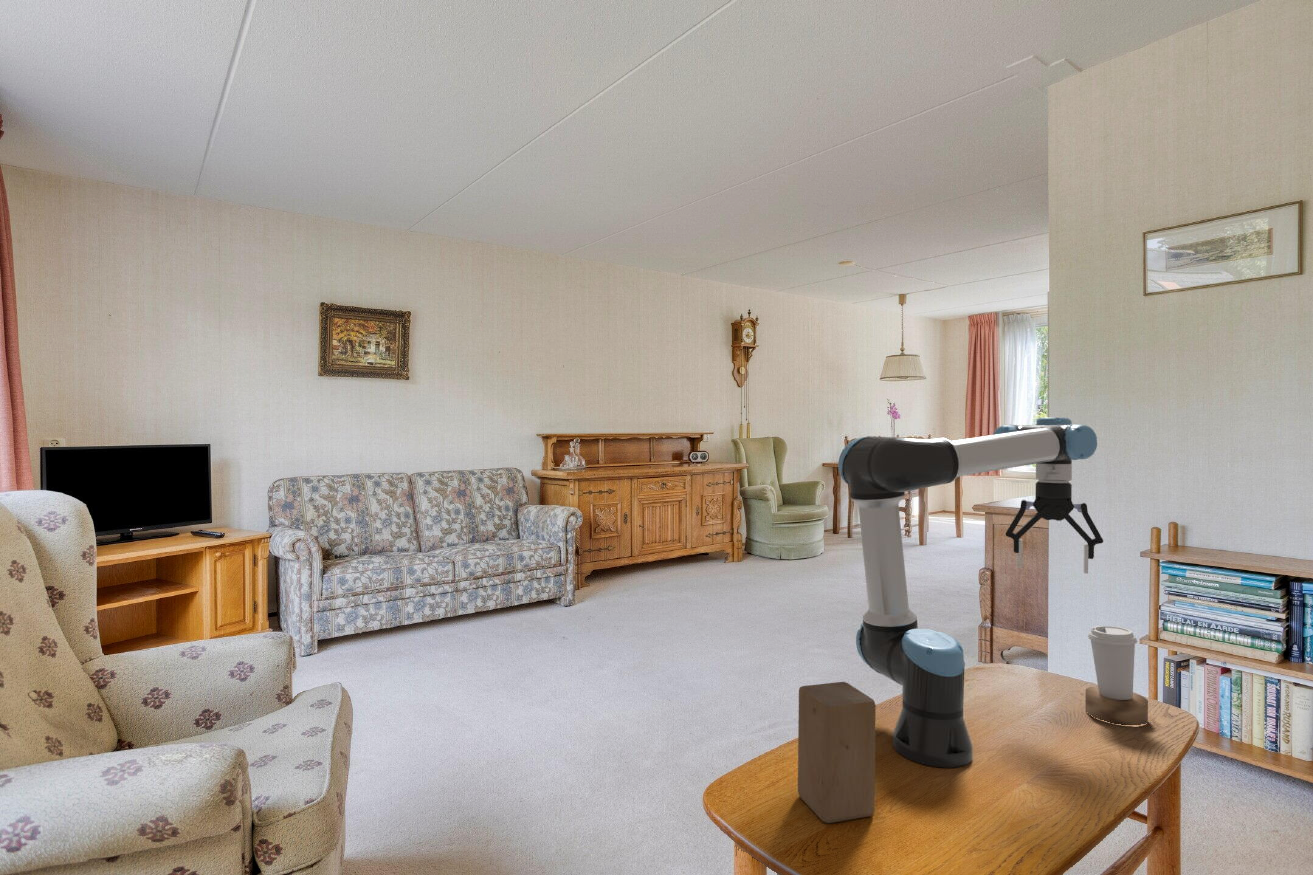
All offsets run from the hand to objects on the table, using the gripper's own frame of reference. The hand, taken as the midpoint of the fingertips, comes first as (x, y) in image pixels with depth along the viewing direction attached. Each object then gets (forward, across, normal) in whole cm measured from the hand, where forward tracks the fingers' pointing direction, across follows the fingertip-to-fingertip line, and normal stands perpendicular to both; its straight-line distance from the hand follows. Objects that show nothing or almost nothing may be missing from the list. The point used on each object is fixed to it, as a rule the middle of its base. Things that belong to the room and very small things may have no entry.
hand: (1052, 569), depth 164 cm
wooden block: (+33, -34, -71) cm, 85 cm away
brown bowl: (+33, +13, 0) cm, 35 cm away
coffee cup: (+28, +13, 0) cm, 31 cm away
